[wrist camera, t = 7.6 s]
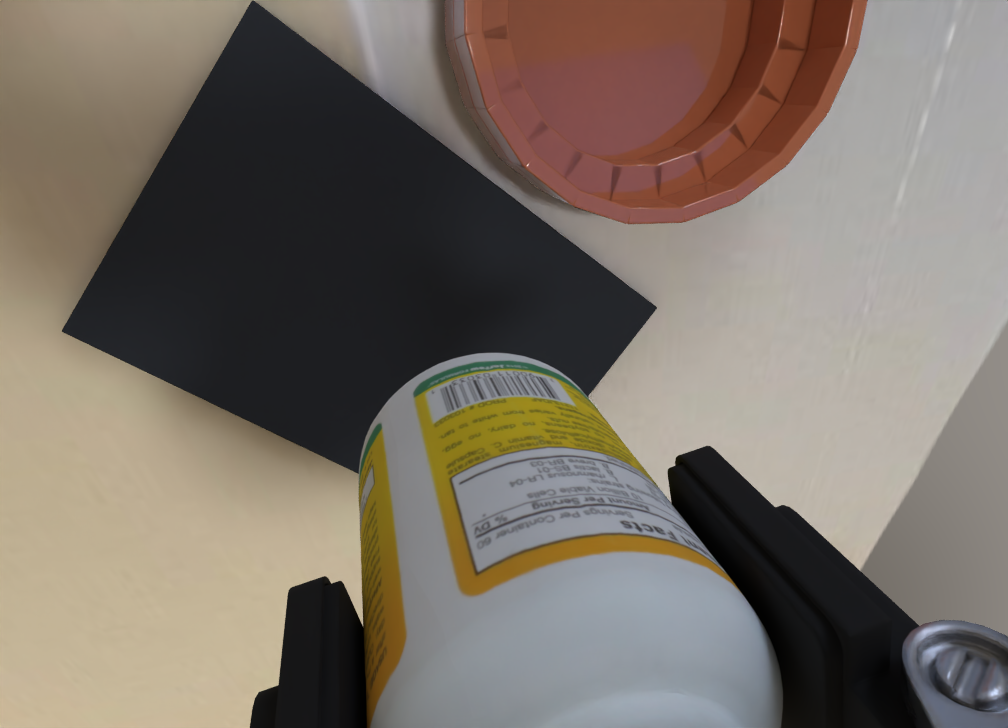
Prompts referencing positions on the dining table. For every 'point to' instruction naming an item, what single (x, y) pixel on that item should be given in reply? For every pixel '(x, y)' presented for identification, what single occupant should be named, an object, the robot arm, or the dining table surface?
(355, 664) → the robot arm
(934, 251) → the dining table surface
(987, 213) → the dining table surface
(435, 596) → the supplement bottle
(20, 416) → the dining table surface
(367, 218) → the mat
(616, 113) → the bowl
